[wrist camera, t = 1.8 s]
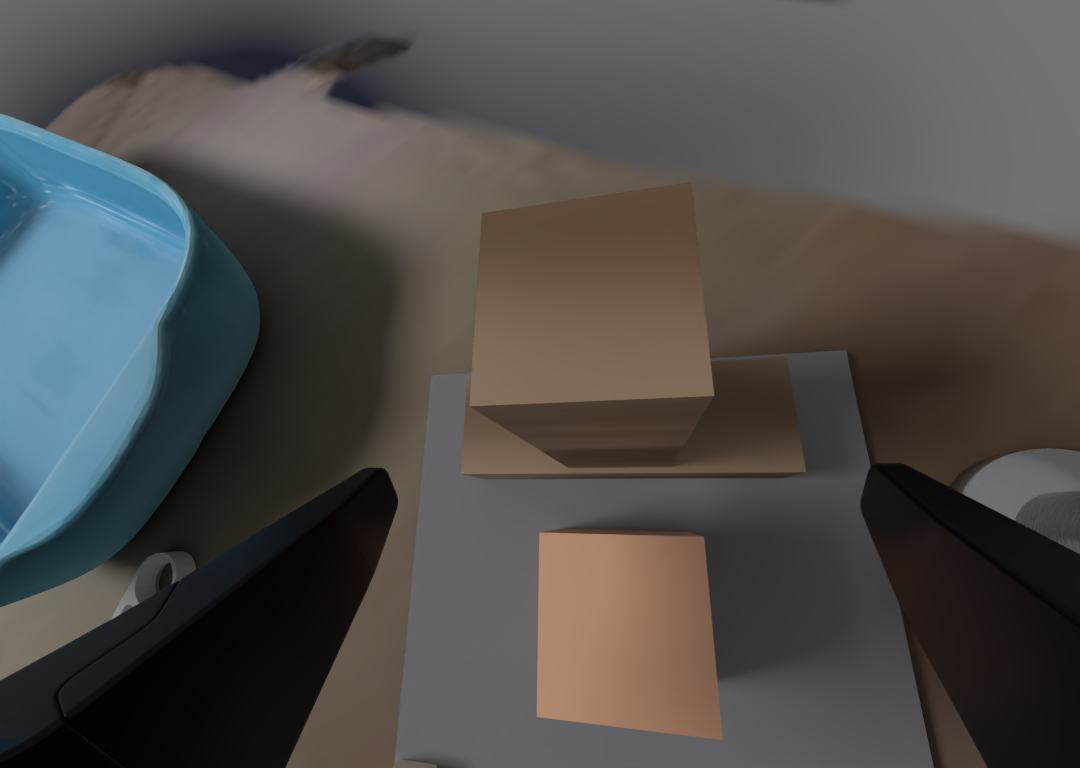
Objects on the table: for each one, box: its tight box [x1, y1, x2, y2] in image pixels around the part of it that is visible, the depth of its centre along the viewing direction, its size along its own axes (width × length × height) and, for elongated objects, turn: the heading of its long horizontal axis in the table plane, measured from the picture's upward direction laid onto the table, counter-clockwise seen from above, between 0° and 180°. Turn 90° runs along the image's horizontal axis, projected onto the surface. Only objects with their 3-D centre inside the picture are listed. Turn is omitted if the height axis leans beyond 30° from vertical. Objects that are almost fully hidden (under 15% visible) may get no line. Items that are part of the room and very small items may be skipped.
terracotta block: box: [537, 529, 723, 740], centre depth 14 cm, size 5×5×4 cm
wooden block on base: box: [461, 182, 806, 479], centre depth 12 cm, size 4×12×12 cm, turn 89°
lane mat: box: [393, 350, 934, 768], centre depth 15 cm, size 25×18×2 cm
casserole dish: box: [0, 114, 260, 607], centre depth 25 cm, size 37×22×7 cm, turn 63°
